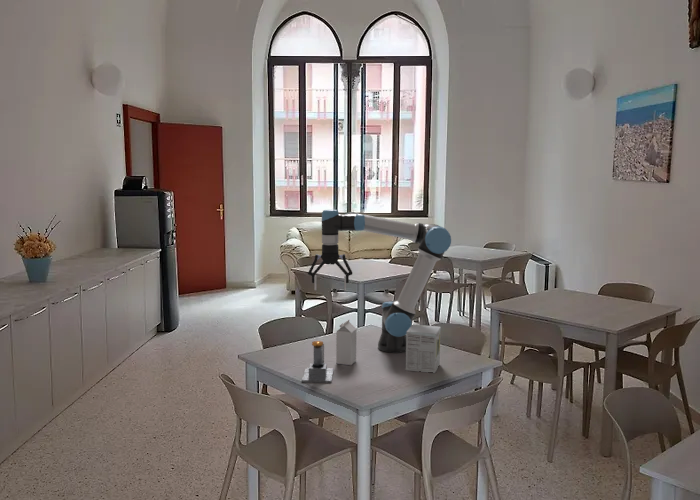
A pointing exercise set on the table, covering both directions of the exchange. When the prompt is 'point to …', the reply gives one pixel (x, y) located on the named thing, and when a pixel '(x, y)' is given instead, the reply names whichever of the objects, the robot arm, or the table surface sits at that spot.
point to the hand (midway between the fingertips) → (330, 290)
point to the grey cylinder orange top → (317, 354)
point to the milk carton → (346, 344)
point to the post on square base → (318, 373)
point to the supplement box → (423, 348)
